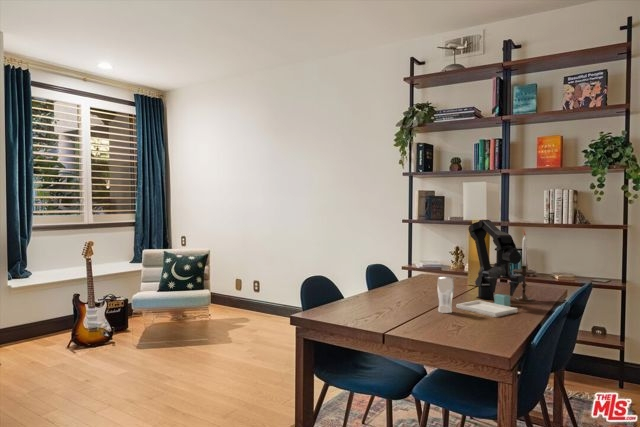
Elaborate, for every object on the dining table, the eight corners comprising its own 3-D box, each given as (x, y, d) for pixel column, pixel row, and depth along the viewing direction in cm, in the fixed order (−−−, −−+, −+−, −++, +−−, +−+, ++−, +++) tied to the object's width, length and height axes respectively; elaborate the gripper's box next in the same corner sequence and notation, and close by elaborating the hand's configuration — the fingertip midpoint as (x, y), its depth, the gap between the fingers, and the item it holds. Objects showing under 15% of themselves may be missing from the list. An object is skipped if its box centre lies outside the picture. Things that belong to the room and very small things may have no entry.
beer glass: (453, 310, 199) (454, 276, 199) (453, 314, 192) (453, 279, 192) (437, 309, 201) (438, 276, 201) (436, 312, 195) (436, 278, 194)
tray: (456, 308, 204) (456, 304, 204) (478, 303, 213) (478, 300, 213) (495, 317, 188) (495, 313, 188) (517, 312, 197) (517, 308, 197)
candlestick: (512, 300, 221) (513, 229, 220) (511, 296, 231) (512, 228, 230) (536, 302, 217) (537, 230, 216) (535, 298, 227) (536, 229, 226)
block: (494, 305, 211) (494, 294, 211) (500, 304, 214) (500, 293, 214) (503, 307, 207) (504, 296, 207) (510, 305, 210) (510, 295, 210)
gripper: (475, 260, 213) (474, 292, 214) (511, 264, 198) (510, 299, 198) (489, 258, 220) (488, 290, 220) (525, 263, 204) (524, 297, 205)
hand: (502, 294), depth 210 cm, fingers open, 9 cm apart
